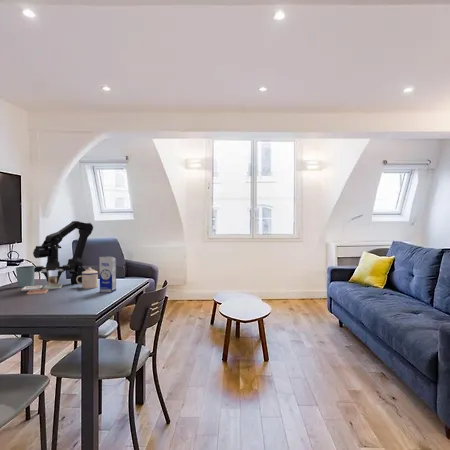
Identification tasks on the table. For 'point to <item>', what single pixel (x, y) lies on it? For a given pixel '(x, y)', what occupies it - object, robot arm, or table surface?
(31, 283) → the teal patterned cup
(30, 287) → the dish
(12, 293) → the table surface
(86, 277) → the teacup with lid
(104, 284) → the milk carton
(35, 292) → the dish
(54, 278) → the letter cube
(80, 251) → the robot arm
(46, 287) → the dish
